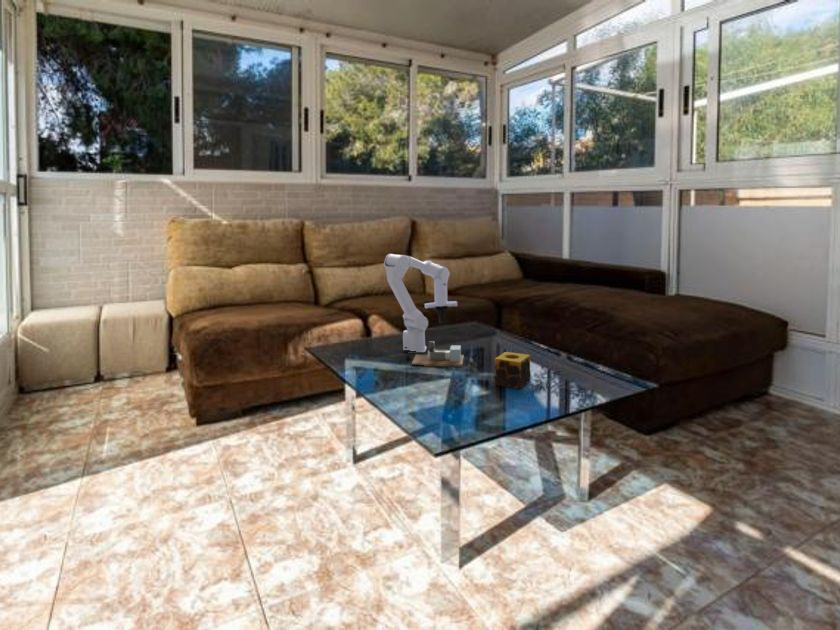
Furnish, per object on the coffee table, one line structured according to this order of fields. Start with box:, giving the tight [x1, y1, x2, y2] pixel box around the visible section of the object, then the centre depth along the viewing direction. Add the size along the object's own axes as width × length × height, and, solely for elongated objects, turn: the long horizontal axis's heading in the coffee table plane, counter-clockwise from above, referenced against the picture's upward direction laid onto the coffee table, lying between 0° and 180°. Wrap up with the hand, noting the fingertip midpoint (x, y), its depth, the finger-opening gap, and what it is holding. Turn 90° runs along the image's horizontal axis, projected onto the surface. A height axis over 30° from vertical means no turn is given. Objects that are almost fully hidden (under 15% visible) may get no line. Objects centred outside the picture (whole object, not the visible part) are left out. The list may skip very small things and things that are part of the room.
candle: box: [493, 351, 531, 390], centre depth 199 cm, size 10×10×10 cm
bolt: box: [427, 340, 450, 360], centre depth 226 cm, size 12×3×7 cm, turn 82°
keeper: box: [449, 344, 462, 362], centre depth 226 cm, size 4×6×5 cm, turn 172°
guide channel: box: [430, 348, 447, 361], centre depth 227 cm, size 6×5×4 cm
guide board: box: [411, 354, 465, 367], centre depth 227 cm, size 20×12×1 cm, turn 82°
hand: (441, 322), depth 252 cm, fingers closed
